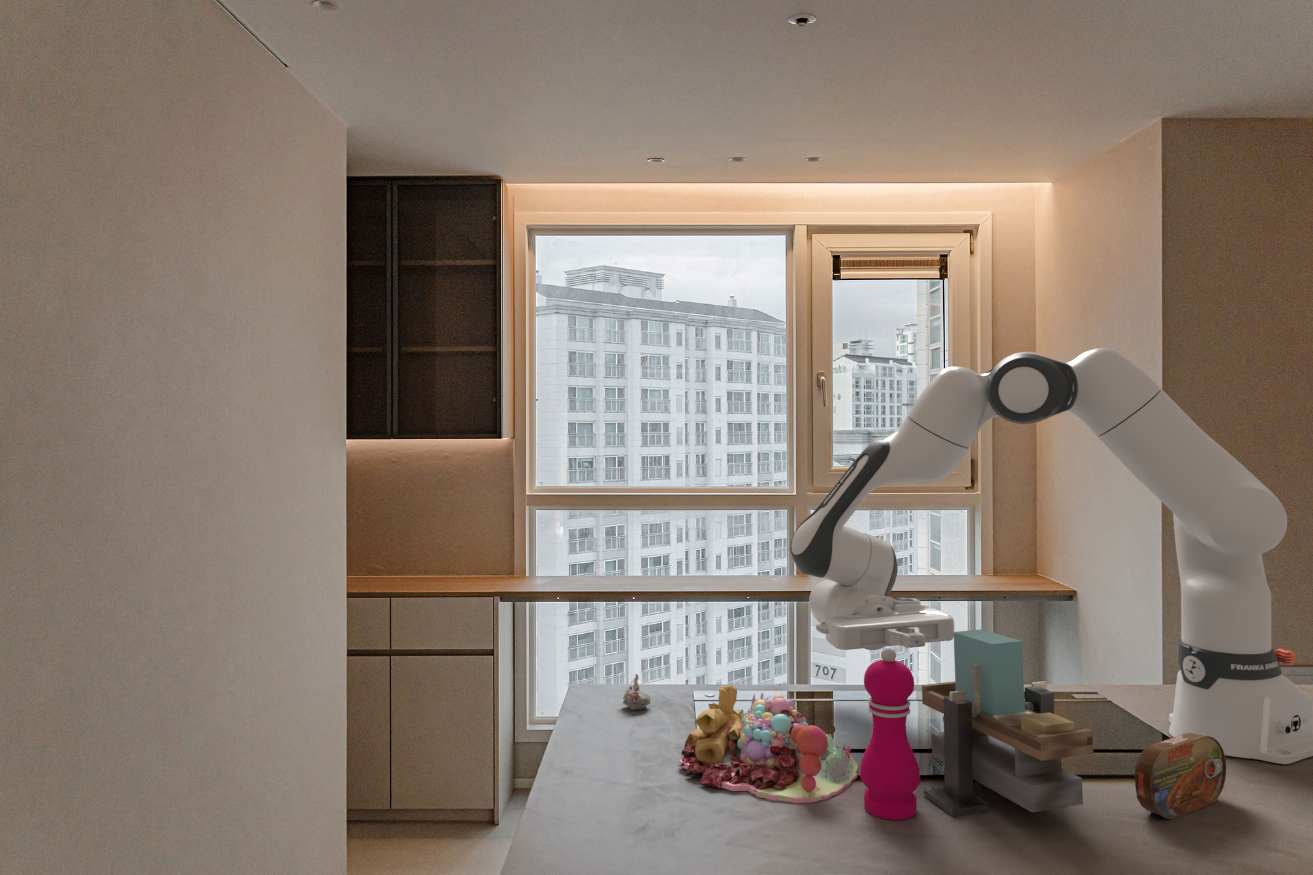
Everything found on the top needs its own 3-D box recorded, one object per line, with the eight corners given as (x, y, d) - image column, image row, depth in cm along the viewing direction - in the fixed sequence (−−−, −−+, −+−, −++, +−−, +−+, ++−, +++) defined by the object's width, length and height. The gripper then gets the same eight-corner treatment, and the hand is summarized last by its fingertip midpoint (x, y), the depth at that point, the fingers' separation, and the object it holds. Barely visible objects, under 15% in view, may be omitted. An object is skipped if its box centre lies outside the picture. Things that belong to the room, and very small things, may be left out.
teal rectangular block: (985, 704, 116) (982, 629, 116) (1025, 721, 108) (1022, 641, 108) (956, 707, 115) (953, 631, 115) (994, 725, 107) (991, 644, 107)
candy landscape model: (656, 786, 116) (655, 717, 116) (708, 726, 138) (707, 668, 138) (845, 813, 107) (844, 739, 107) (869, 745, 129) (868, 683, 129)
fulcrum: (1043, 777, 115) (1042, 673, 115) (1076, 796, 110) (1075, 686, 109) (924, 795, 111) (922, 686, 110) (951, 816, 105) (950, 701, 105)
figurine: (654, 706, 147) (653, 672, 147) (645, 714, 143) (644, 680, 143) (627, 703, 149) (626, 670, 149) (617, 711, 145) (616, 677, 145)
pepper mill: (923, 824, 103) (921, 657, 102) (861, 820, 104) (859, 654, 104) (917, 798, 110) (916, 641, 109) (859, 794, 111) (857, 639, 111)
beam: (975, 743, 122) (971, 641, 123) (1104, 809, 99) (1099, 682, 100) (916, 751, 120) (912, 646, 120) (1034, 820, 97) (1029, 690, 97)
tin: (1154, 826, 102) (1154, 755, 101) (1129, 816, 104) (1128, 746, 104) (1229, 798, 108) (1229, 732, 108) (1203, 789, 111) (1203, 724, 111)
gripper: (810, 606, 138) (852, 625, 125) (924, 597, 144) (975, 615, 130) (811, 645, 138) (853, 669, 125) (924, 635, 144) (976, 657, 130)
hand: (916, 641), depth 128 cm, fingers closed
